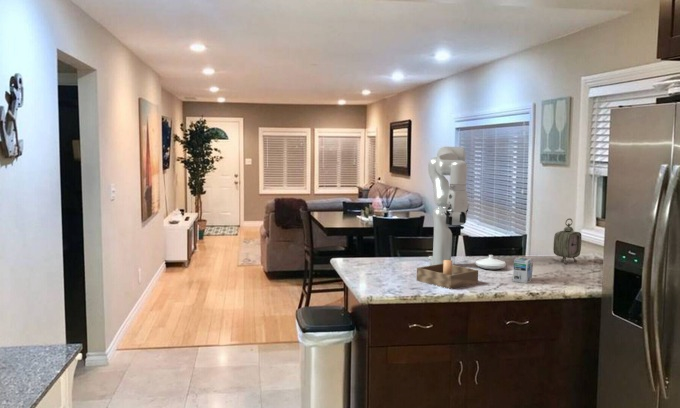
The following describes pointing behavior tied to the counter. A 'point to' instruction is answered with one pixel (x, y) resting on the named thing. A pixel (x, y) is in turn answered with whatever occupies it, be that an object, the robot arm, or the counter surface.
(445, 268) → the peg
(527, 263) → the light bulb box
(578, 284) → the counter surface
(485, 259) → the vase
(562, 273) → the counter surface
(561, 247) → the tabletop clock
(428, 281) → the bore box
